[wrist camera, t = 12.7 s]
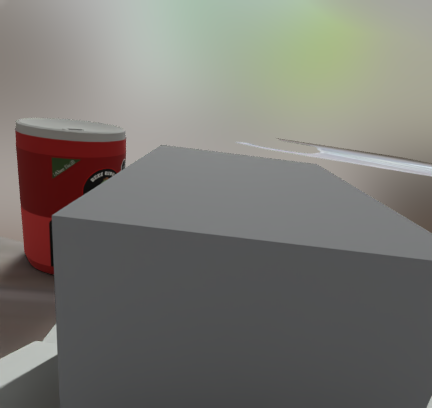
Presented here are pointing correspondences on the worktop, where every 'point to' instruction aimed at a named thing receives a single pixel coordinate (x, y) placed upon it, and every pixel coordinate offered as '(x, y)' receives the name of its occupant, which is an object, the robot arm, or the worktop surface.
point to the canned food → (60, 173)
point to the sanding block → (239, 289)
